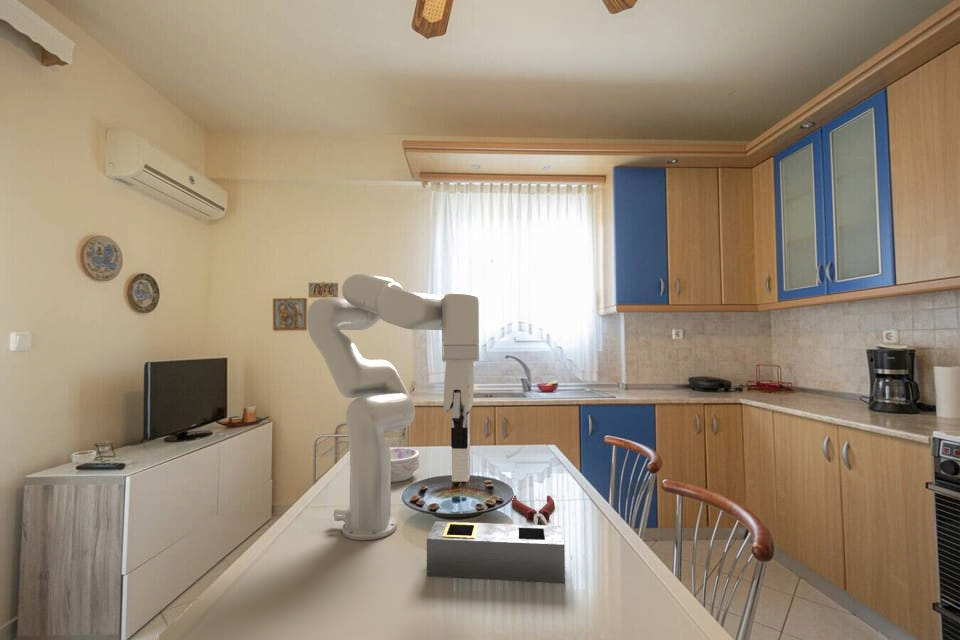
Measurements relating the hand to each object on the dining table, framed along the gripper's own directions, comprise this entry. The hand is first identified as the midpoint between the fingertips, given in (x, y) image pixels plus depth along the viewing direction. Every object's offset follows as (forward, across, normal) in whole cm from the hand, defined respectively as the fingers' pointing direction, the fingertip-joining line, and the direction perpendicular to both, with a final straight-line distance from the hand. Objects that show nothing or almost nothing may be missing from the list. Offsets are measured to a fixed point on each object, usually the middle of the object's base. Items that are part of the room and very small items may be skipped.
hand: (460, 444), depth 87 cm
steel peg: (+7, 0, 0) cm, 7 cm away
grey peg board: (+24, 0, +7) cm, 25 cm away
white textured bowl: (+24, -53, -29) cm, 65 cm away
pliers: (+25, -27, +14) cm, 39 cm away
